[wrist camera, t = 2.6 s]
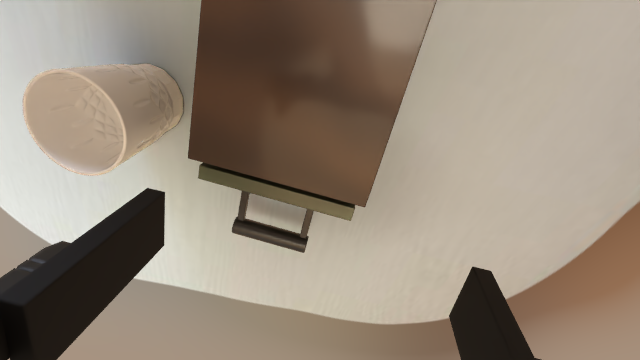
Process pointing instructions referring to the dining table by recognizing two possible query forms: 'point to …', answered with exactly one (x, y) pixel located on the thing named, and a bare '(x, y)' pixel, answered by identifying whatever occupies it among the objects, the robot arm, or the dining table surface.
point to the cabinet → (303, 88)
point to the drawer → (277, 193)
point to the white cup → (100, 113)
